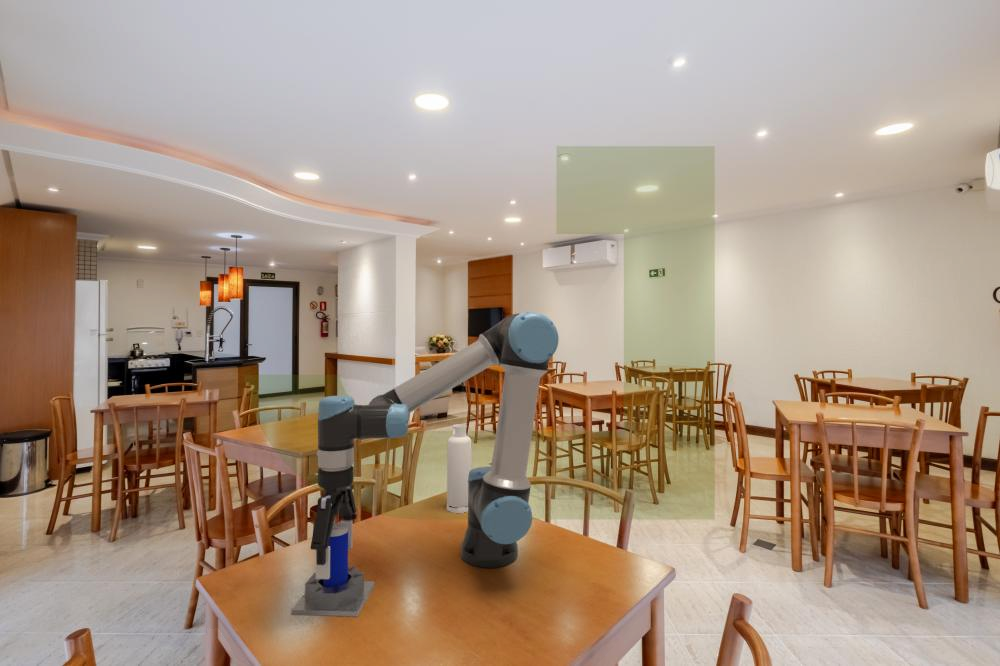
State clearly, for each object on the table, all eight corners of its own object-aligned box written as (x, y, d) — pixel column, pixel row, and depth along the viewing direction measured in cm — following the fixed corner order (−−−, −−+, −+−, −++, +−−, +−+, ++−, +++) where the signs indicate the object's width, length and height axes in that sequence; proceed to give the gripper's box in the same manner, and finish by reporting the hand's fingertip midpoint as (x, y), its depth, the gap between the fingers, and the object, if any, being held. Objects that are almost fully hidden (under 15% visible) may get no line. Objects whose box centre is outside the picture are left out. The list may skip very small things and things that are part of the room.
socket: (374, 585, 112) (374, 566, 112) (357, 616, 100) (357, 594, 100) (315, 584, 112) (315, 565, 112) (291, 614, 100) (291, 593, 100)
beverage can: (340, 586, 110) (340, 520, 110) (352, 594, 106) (352, 527, 106) (318, 595, 106) (319, 527, 106) (330, 604, 102) (330, 534, 102)
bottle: (473, 512, 157) (474, 427, 157) (449, 514, 155) (449, 428, 155) (468, 503, 165) (468, 422, 165) (444, 505, 163) (445, 423, 163)
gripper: (339, 451, 118) (339, 537, 118) (292, 484, 93) (292, 592, 93) (369, 452, 118) (369, 538, 118) (330, 485, 93) (330, 593, 93)
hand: (335, 562), depth 106 cm, fingers open, 13 cm apart
